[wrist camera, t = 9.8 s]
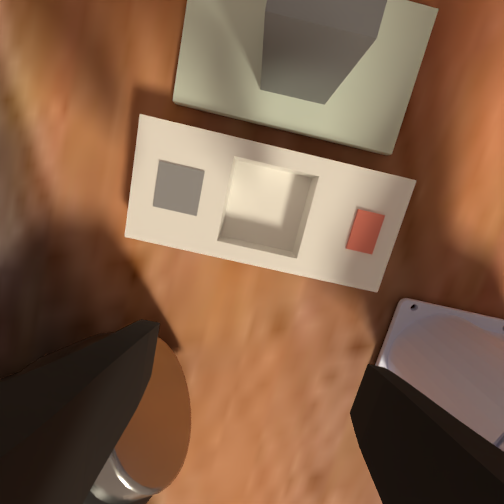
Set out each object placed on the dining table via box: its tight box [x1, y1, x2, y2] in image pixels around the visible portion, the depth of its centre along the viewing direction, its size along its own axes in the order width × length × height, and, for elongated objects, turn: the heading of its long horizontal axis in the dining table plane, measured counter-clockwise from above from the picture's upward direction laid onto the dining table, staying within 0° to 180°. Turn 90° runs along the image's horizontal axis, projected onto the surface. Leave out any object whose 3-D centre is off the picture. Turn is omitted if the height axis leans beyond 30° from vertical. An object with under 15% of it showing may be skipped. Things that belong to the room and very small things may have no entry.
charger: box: [260, 0, 387, 105], centre depth 12 cm, size 4×4×7 cm
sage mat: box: [173, 0, 439, 156], centre depth 16 cm, size 14×8×1 cm, turn 77°
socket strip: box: [125, 114, 417, 292], centre depth 17 cm, size 16×7×3 cm, turn 77°
